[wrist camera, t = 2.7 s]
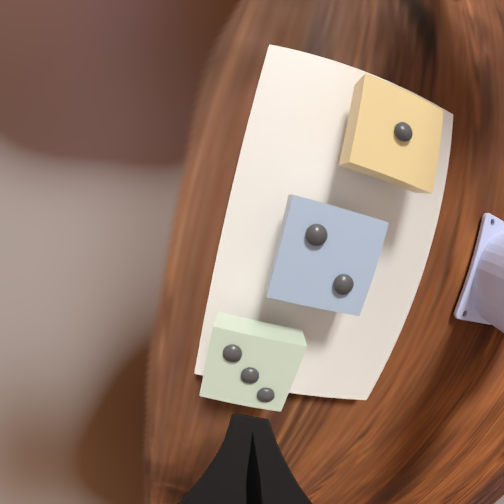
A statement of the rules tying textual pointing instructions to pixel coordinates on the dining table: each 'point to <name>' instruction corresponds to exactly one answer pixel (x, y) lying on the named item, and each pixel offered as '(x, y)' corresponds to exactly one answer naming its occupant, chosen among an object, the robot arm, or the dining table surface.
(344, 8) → the dining table surface
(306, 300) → the tile two
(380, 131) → the tile one
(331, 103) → the panel
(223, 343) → the tile three
